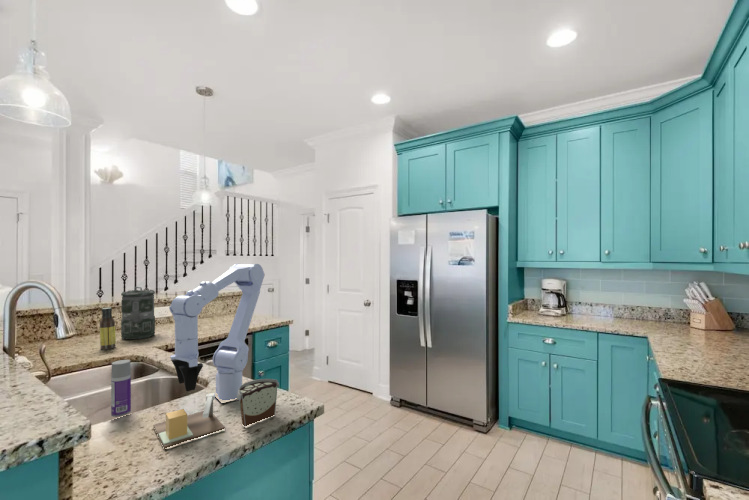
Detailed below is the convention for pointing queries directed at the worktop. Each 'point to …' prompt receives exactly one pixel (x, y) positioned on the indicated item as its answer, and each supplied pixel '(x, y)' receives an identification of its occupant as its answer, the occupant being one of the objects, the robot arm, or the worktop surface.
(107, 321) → the sauce bottle
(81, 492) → the worktop surface
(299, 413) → the worktop surface
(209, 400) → the strap
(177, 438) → the sage mat
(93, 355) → the worktop surface
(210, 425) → the brown tray
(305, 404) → the worktop surface
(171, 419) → the plug block
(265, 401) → the food container
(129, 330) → the green backpack
